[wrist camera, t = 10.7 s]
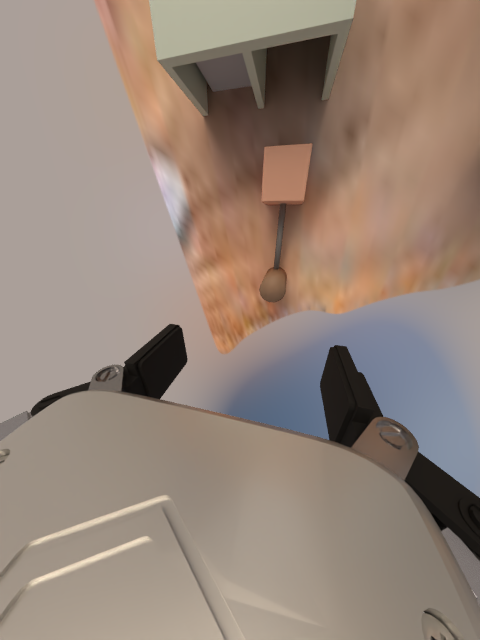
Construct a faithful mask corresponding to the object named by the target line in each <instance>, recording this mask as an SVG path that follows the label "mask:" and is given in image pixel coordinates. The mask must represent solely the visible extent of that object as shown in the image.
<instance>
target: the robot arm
mask: <svg viewBox="0 0 480 640" xmlns="http://www.w3.org/2000/svg"><path fill="white" fill-rule="evenodd" d="M124 363H125V366H124V367H122V366H121V365H111V366H107V367H105V368H102V369H101V370H99V371H98V372H96V373H95V374H94V375H93V377H92V380H91V382H88V383H85V384H82V385H79V386H76V387H73V388H70V389H67V390H63V391H61V392H57V393H54V394H52V395H49V396H47V397H45V398H43V399H42V400H41V401H39V402H38V403H37V404H36V405H35V406H34V407H33V408H32V410H31V412H30V413H28V412H27V411H26V412H23V413H21V414H19V415H17V416H15V417H13V418H11V419H9V420H7V421H4V422H3V423H0V640H480V606H479V605H480V498H479V497H478V496H476V495H475V494H474V493H472V492H471V491H470V490H468V489H467V488H466V487H464V486H463V485H462V484H460V483H459V482H458V481H456V480H455V479H454V478H452V477H451V476H450V475H448V474H447V473H446V472H444V471H443V470H442V469H441V468H439V467H438V466H437V465H435V464H434V463H433V462H431V461H430V460H429V459H427V458H426V457H425V456H423V455H422V454H421V453H419V452H418V448H419V446H418V443H417V440H416V439H415V437H414V436H413V434H412V433H411V432H410V431H409V430H408V429H407V428H406V427H404V426H403V425H401V424H400V423H398V422H396V421H395V420H392V419H390V418H386V417H383V415H382V413H381V411H380V408H379V406H378V404H377V402H376V400H375V398H374V396H373V394H372V391H371V390H370V387H369V385H368V383H367V381H366V379H365V377H364V375H363V374H362V373H361V372H358V371H357V369H356V367H355V364H354V362H353V360H352V358H351V355H350V353H349V351H348V349H347V347H345V346H338V345H335V346H334V347H331V348H330V350H329V354H328V357H327V360H326V364H325V368H324V371H323V375H322V379H321V382H320V388H321V394H322V400H323V405H324V411H325V417H326V423H327V428H328V434H329V440H327V439H323V438H320V437H316V436H312V435H308V434H304V433H300V432H297V431H293V430H289V429H284V428H281V427H276V426H272V425H268V424H264V423H260V422H255V421H251V420H247V419H243V418H239V417H234V416H230V415H226V414H221V413H217V412H212V411H208V410H204V409H200V408H195V407H191V406H187V405H182V404H177V403H173V402H169V401H165V400H160V398H161V397H162V395H163V394H164V393H165V391H166V390H167V389H168V387H169V386H170V385H171V383H172V382H173V380H174V379H175V378H176V376H177V375H178V374H179V372H180V371H181V369H183V367H184V366H185V365H186V363H187V354H186V348H185V343H184V337H183V332H182V328H180V326H179V325H174V324H169V325H168V326H167V327H166V328H164V329H163V330H162V331H161V332H160V333H159V334H157V335H156V336H155V337H154V338H153V339H151V340H150V341H149V342H148V343H147V344H145V345H144V346H143V347H142V348H141V349H140V350H138V351H137V352H136V353H135V354H134V355H132V356H131V357H130V358H129V359H128V360H126V361H125V362H124ZM472 590H473V591H474V593H475V594H476V595H477V598H476V597H475V595H474V593H473V591H472ZM423 612H425V613H423Z"/></svg>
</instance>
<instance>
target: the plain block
mask: <svg viewBox="0 0 480 640" xmlns="http://www.w3.org/2000/svg"><path fill="white" fill-rule="evenodd" d="M196 64H197V66H198V67H199V69H200V71H201V72H202V74H203V76H204V77H205V79H206V81H207V83H208V84H209V86H210V88H211V89H212V91H213V92H215V91H222V90H229V89H235V88H242V87H248V86H252V85H251V82H250V78H249V75H248V71H247V68H246V64H245V61H244V57H243V54H242V53H239V54H235V55H230V56H225V57H220V58H215V59H210V60H205V61H200V62H196Z"/></svg>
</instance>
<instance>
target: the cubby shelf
mask: <svg viewBox="0 0 480 640" xmlns="http://www.w3.org/2000/svg"><path fill="white" fill-rule="evenodd" d="M149 4H150V11H151V18H152V25H153V33H154V40H155V47H156V55H157V61H158V62H159V63H160V64H161V65H162V67H163V68H164V69H165V70H166V72H167V73H168V74H169V75H170V76H171V78H172V79H173V80H174V81H175V82H176V84H177V85H178V86H179V87H180V89H181V90H182V91H183V92H184V93H185V95H186V96H187V97H188V98H189V100H190V101H191V102H192V103H193V104H194V106H195V107H196V108H197V109H198V111H199V112H200V113H201V114H202V115H203V116H208V99H207V82H206V79H205V77H204V76H203V74H202V72H201V71H200V69H199V67H198V66H197V64H196V62H200V61H205V60H210V59H215V58H220V57H225V56H230V55H235V54H239V53H242V54H243V57H244V61H245V64H246V68H247V71H248V75H249V78H250V82H251V85H252V89H253V92H254V96H255V99H256V103H257V106H258V109H260V108H264V104H265V81H266V59H267V48H269V47H274V46H279V45H284V44H289V43H294V42H299V41H304V40H309V39H314V38H319V37H323V36H328V35H331V38H330V45H329V52H328V59H327V66H326V73H325V79H324V86H323V93H322V100H328V99H329V96H330V93H331V90H332V86H333V83H334V80H335V76H336V73H337V70H338V67H339V63H340V60H341V57H342V53H343V50H344V47H345V44H346V40H347V37H348V34H349V30H350V27H351V24H352V21H353V17H354V11H355V5H356V0H149Z"/></svg>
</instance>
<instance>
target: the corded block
mask: <svg viewBox="0 0 480 640" xmlns="http://www.w3.org/2000/svg"><path fill="white" fill-rule="evenodd" d="M311 150H312V143H309V144H295V145H281V146H268V147H264V162H263V180H262V198H261V201H262V202H263V203H264V204H266V205H280V210H279V221H278V231H277V241H276V251H275V261H274V267H273V268H271V269H269V270H268V271H267V273H266V275H265V277H264V279H263V281H262V283H261V285H260V295H261V296H262V298H263V299H264V300H266V301H268V302H277V301H279V300H281V299H282V298H283V296H284V294H285V289H286V273H285V271H284V270H283V269H282V268H280V267H279V263H280V254H281V246H282V237H283V228H284V219H285V210H286V205H297V204H302V203H303V201H304V197H305V190H306V183H307V177H308V170H309V163H310V156H311Z"/></svg>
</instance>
